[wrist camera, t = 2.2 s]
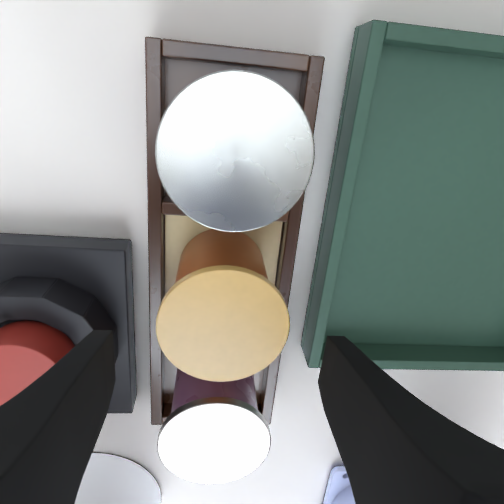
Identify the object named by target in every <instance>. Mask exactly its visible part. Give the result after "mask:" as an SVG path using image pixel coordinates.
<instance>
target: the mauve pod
mask: <svg viewBox="0 0 504 504" xmlns="http://www.w3.org/2000/svg"><path fill="white" fill-rule="evenodd" d="M270 444H271V437H270V430H269V426H268V423H267V421H266V419H265V418H264V417H263V415H262V414H261V413H260V412H259V411H258V406H257V399H256V391H255V383H254V375H252V376H249V377H246V378H243V379H239V380H234V381H225V382H216V381H208V380H202V379H199V378H196V377H193V376H191V375H188V374H186V373H185V372H183V371H181V370H180V369H178V368H177V373H176V380H175V387H174V395H173V402H172V409H171V414H170V415H169V416H168V417H167V418H166V420H165V421H164V423H163V424H162V426H161V429H160V432H159V436H158V444H157V448H158V453H159V457H160V459H161V461H162V463H163V464H164V465H165V467H166V468H167V469H168V470H169V471H171V472H172V473H173V474H175V475H176V476H178V477H180V478H182V479H185V480H188V481H191V482H195V483H201V484H220V483H227V482H231V481H234V480H237V479H240V478H242V477H244V476H246V475H248V474H249V473H251V472H252V471H254V470H255V469H256V468H257V467H259V466H260V465H261V463H262V462H263V461H264V460H265V458H266V456H267V454H268V452H269V449H270Z"/></svg>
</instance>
